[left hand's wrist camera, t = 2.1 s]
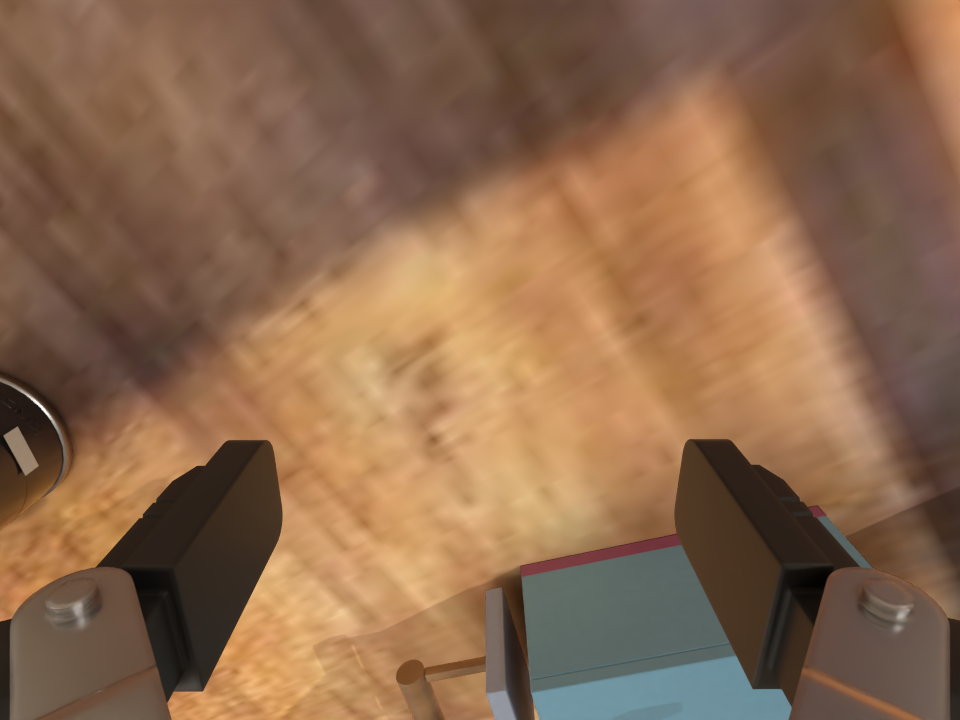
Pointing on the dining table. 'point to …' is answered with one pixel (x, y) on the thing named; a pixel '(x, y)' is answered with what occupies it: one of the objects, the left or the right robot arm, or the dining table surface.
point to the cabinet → (637, 639)
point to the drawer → (478, 671)
